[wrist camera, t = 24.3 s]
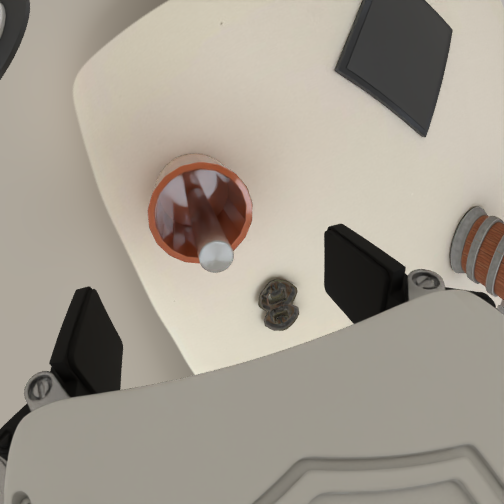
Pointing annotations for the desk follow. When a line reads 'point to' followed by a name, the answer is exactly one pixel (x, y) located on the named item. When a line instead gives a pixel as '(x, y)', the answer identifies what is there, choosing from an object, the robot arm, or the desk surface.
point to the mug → (480, 250)
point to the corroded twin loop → (279, 304)
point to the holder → (176, 208)
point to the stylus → (208, 233)
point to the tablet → (398, 57)
